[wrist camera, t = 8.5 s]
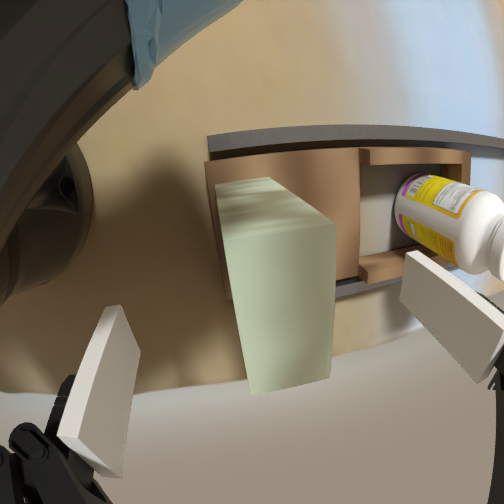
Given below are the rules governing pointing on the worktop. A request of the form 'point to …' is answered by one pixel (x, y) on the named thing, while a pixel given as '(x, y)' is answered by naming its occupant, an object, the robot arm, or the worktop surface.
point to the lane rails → (346, 133)
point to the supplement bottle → (454, 222)
